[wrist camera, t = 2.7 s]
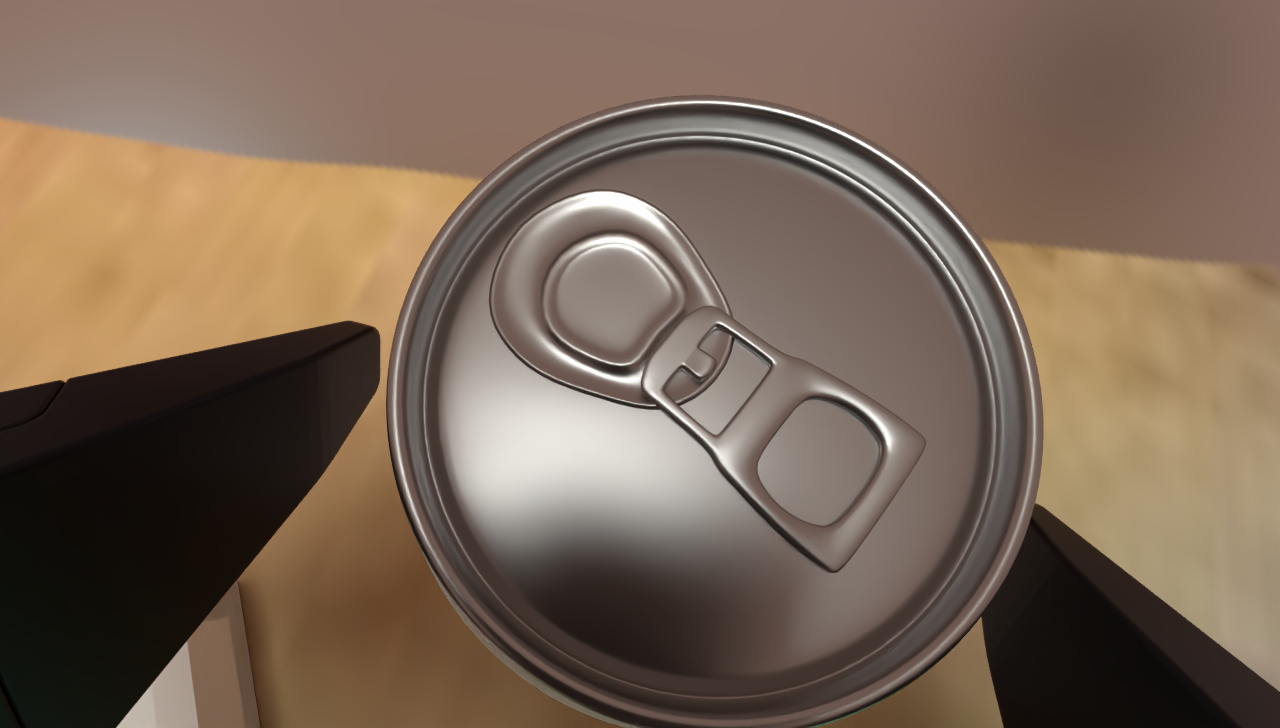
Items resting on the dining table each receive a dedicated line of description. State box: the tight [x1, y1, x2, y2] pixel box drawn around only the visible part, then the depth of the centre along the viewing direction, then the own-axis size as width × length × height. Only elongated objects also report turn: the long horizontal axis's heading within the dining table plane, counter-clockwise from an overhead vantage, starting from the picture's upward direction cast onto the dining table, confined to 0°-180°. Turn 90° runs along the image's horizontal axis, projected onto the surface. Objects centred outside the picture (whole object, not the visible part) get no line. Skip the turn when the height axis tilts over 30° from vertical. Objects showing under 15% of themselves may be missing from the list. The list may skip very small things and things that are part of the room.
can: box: [386, 95, 1043, 728], centre depth 11 cm, size 6×6×12 cm
